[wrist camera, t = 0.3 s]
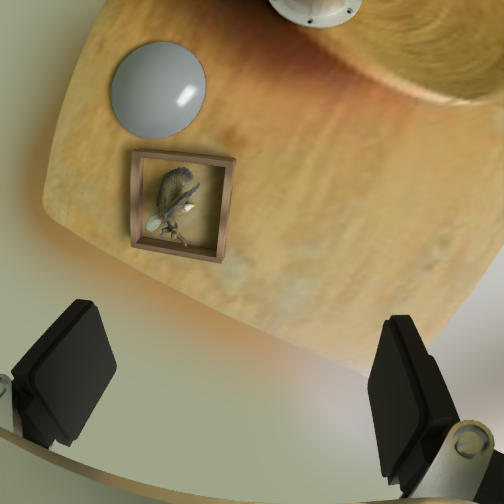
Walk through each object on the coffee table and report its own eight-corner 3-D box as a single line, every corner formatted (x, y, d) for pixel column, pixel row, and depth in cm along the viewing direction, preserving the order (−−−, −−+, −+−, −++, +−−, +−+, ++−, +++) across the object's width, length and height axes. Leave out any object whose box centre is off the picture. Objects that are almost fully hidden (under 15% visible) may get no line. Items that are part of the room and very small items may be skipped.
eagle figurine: (208, 237, 46) (216, 180, 41) (168, 255, 41) (170, 194, 36) (176, 213, 49) (180, 160, 44) (137, 227, 45) (137, 171, 39)
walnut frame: (139, 148, 42) (131, 151, 40) (235, 158, 42) (232, 161, 40) (137, 240, 49) (130, 247, 47) (224, 256, 48) (221, 263, 46)
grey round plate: (120, 45, 36) (116, 44, 35) (212, 43, 35) (211, 41, 34) (111, 135, 42) (107, 136, 41) (200, 142, 41) (198, 143, 40)
